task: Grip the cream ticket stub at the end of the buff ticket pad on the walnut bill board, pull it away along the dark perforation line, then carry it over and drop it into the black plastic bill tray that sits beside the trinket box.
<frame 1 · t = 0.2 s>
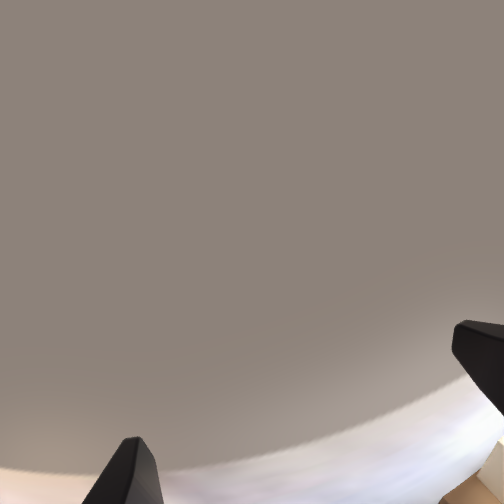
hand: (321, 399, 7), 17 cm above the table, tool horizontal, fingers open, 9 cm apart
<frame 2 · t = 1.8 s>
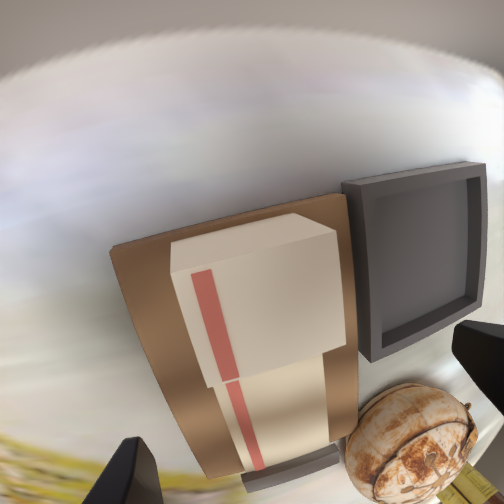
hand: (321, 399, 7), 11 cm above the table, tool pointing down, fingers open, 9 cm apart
bill board: (260, 362, 19), on the table
trinket box: (394, 429, 25), on the table
bill tray: (419, 251, 20), on the table
stub: (244, 275, 16), point 1 cm above the table, touching bill board
sauce bottle: (440, 464, 32), on the table
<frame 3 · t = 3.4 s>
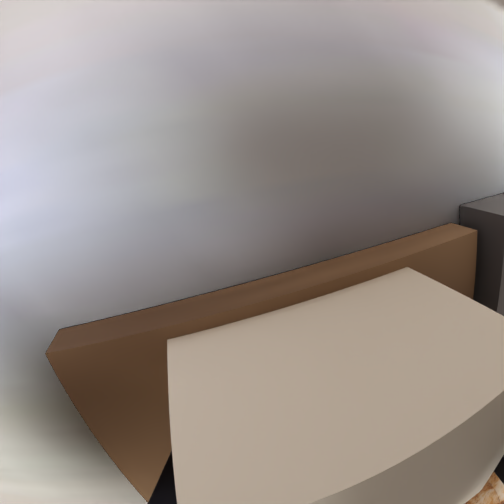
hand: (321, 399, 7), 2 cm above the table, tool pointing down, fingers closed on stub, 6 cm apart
bill board: (312, 471, 11), on the table
trinket box: (444, 487, 17), on the table
stub: (311, 385, 8), point 1 cm above the table, touching bill board, gripper
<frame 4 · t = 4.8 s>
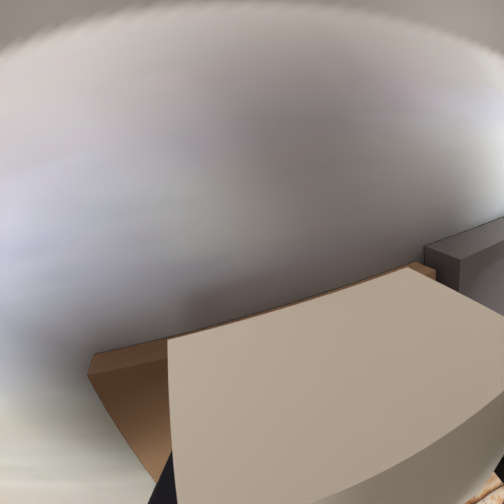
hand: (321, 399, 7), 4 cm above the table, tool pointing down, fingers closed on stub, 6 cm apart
bill board: (299, 465, 13), on the table
trinket box: (428, 485, 19), on the table
bill tray: (489, 317, 14), on the table
stub: (311, 385, 8), point 3 cm above the table, touching gripper
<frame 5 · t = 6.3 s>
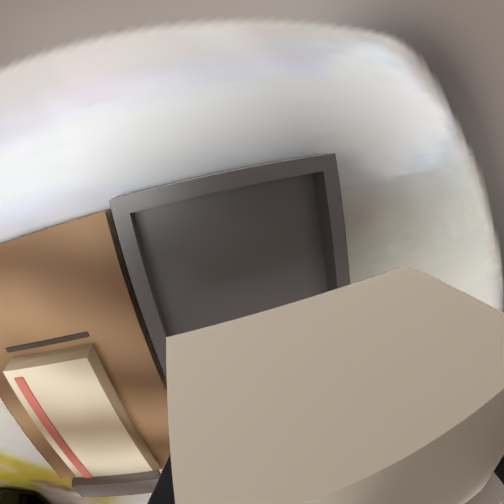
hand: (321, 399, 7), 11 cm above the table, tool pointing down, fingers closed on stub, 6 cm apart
bill board: (70, 375, 17), on the table
bill tray: (240, 271, 18), on the table
stub: (311, 384, 8), point 11 cm above the table, touching gripper
when the fingers open (3 cm above the table, at t = 8.4 s): stub drops 2 cm, resting on bill tray.
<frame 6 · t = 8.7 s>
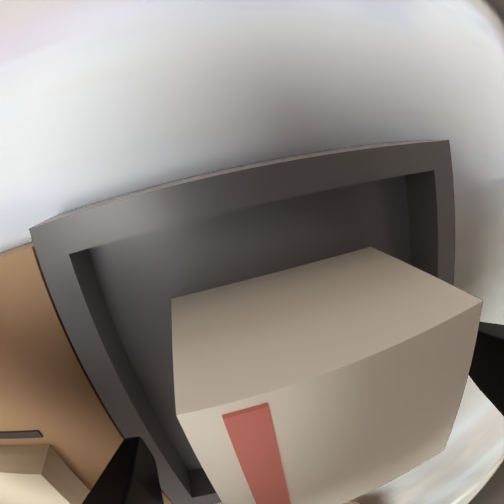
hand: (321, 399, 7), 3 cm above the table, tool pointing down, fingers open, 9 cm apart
bill board: (34, 464, 9), on the table
bill tray: (282, 338, 10), on the table
stub: (290, 346, 10), point 1 cm above the table, touching bill tray
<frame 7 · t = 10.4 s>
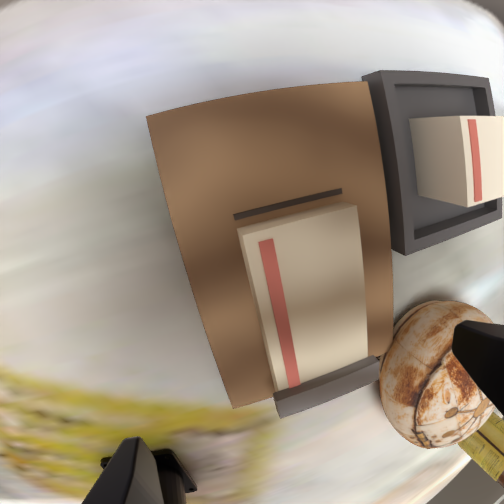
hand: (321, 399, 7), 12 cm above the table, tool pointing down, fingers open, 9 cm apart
bill board: (293, 252, 19), on the table
trinket box: (424, 361, 25), on the table
bill tray: (438, 153, 19), on the table
stub: (444, 153, 19), point 1 cm above the table, touching bill tray
sauce bottle: (466, 418, 32), on the table
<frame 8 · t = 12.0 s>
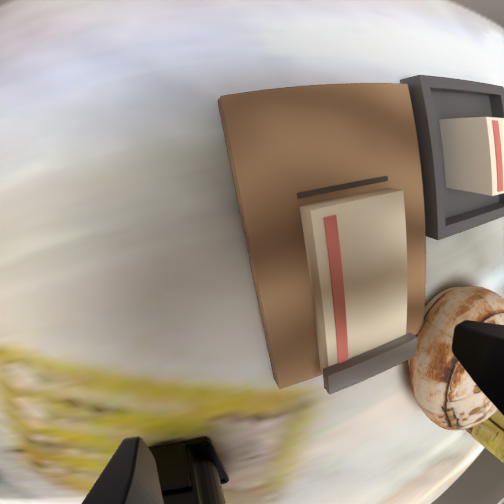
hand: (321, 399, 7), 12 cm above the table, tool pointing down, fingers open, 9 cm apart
bill board: (342, 233, 20), on the table
trinket box: (446, 347, 26), on the table
bill tray: (461, 151, 21), on the table
stub: (467, 151, 20), point 1 cm above the table, touching bill tray
sauce bottle: (478, 409, 32), on the table
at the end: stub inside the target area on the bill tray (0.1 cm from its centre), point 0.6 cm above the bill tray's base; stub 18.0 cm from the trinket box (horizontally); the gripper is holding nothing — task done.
